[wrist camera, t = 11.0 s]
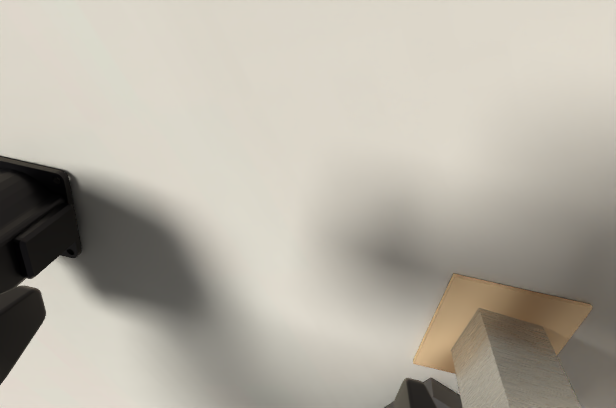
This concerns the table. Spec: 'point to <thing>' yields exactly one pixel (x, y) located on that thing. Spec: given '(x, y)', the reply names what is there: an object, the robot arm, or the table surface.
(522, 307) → the cork pad
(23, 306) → the robot arm
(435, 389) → the dark gray slotted board
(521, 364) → the gray block
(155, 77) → the table surface
